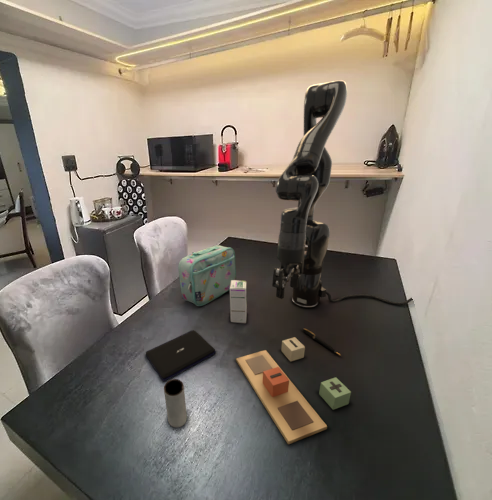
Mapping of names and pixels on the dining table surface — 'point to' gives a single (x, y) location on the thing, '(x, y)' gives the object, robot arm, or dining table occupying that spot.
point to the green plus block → (334, 393)
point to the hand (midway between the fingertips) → (287, 292)
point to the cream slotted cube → (293, 349)
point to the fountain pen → (319, 340)
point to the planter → (175, 403)
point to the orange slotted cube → (275, 381)
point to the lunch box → (207, 274)
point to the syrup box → (238, 301)
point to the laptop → (179, 354)
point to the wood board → (281, 400)
